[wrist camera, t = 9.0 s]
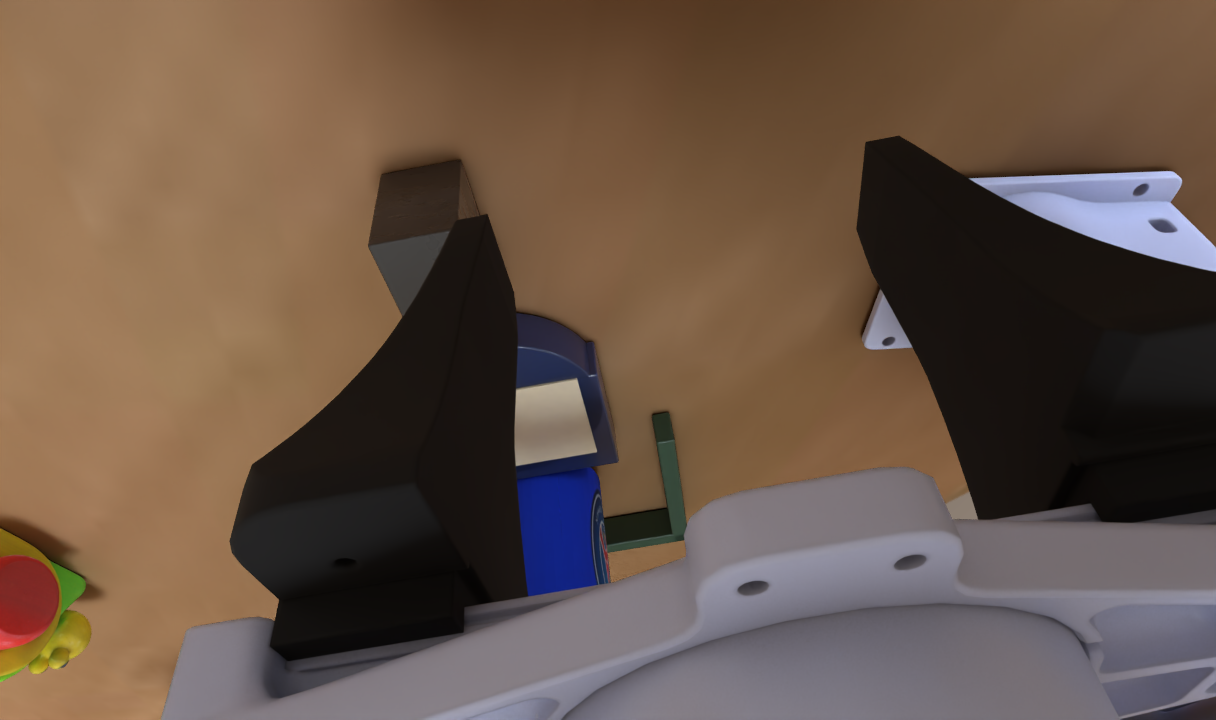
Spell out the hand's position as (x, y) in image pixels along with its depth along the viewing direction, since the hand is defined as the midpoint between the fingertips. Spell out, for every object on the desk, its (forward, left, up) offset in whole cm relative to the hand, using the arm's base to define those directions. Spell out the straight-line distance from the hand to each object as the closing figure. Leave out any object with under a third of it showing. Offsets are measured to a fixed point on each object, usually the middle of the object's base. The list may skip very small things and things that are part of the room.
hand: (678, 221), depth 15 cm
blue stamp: (+5, +12, -9) cm, 16 cm away
